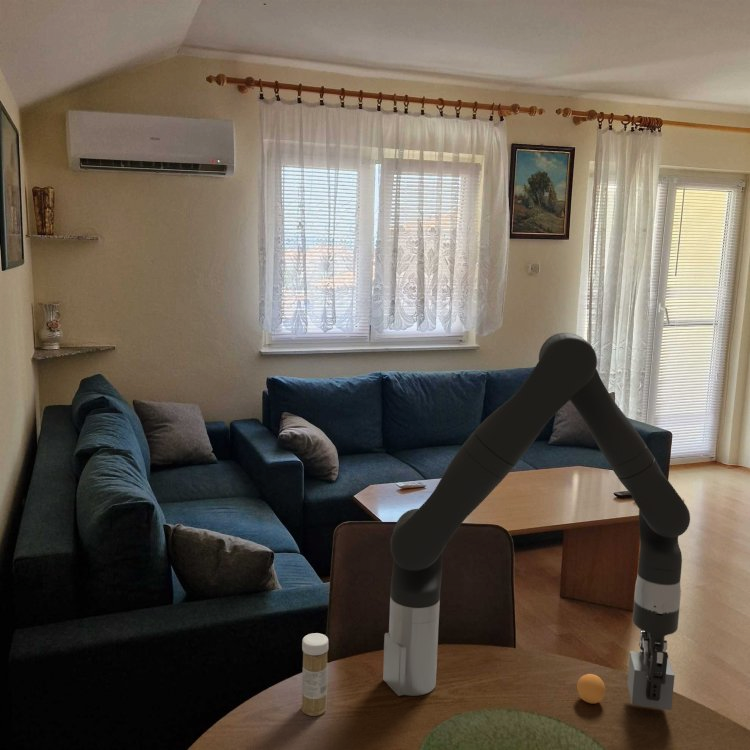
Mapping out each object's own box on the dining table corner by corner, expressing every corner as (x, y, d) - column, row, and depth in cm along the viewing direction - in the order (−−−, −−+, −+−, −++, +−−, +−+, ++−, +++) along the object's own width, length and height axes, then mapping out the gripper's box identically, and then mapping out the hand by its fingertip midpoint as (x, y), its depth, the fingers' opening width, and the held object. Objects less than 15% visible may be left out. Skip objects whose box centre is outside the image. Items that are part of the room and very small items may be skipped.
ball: (589, 712, 130) (591, 686, 129) (570, 697, 134) (572, 672, 133) (610, 705, 132) (612, 679, 131) (590, 690, 136) (592, 666, 136)
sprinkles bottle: (314, 698, 131) (316, 629, 129) (332, 709, 128) (333, 638, 126) (295, 709, 128) (296, 638, 126) (313, 720, 125) (314, 648, 123)
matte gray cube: (671, 710, 127) (674, 675, 126) (631, 704, 128) (634, 669, 127) (664, 689, 133) (667, 655, 132) (627, 683, 134) (629, 650, 133)
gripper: (629, 581, 136) (623, 664, 138) (640, 617, 122) (632, 708, 124) (671, 586, 134) (664, 669, 136) (687, 622, 120) (679, 714, 122)
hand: (649, 687), depth 130 cm, fingers closed on matte gray cube, 6 cm apart
